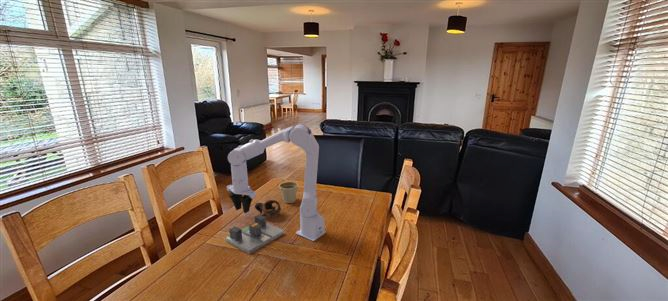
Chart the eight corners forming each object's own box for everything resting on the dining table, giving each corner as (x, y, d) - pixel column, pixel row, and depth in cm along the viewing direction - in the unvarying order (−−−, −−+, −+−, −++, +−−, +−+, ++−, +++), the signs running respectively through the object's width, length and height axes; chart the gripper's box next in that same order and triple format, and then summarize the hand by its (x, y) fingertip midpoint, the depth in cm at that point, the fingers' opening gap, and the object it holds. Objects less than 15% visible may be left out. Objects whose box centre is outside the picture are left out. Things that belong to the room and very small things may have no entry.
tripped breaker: (261, 233, 112) (260, 224, 111) (256, 236, 110) (255, 227, 109) (254, 230, 114) (254, 221, 113) (249, 233, 112) (248, 224, 111)
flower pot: (276, 203, 142) (275, 187, 139) (284, 196, 150) (284, 180, 148) (293, 206, 139) (293, 189, 137) (301, 198, 148) (301, 182, 146)
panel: (283, 233, 115) (283, 222, 114) (249, 254, 102) (248, 241, 100) (260, 223, 123) (260, 212, 122) (226, 241, 110) (224, 229, 108)
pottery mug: (281, 210, 136) (283, 199, 131) (276, 227, 129) (279, 216, 124) (256, 204, 135) (257, 193, 129) (250, 221, 128) (251, 210, 122)
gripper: (261, 179, 110) (263, 211, 113) (235, 172, 117) (238, 202, 121) (246, 184, 104) (249, 218, 108) (221, 177, 111) (224, 209, 115)
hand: (242, 210), depth 114 cm, fingers open, 4 cm apart
